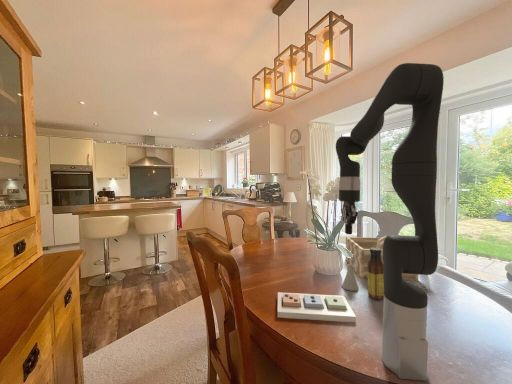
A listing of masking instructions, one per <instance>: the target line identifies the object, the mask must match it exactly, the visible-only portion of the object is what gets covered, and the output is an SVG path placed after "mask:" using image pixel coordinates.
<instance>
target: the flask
mask: <svg viewBox="0 0 512 384" xmlns="http://www.w3.org/2000/svg"><path fill="white" fill-rule="evenodd" d="M346 267H347V269H346V270H347V271H346V275H345V277H344V279H343V282H342V284H341V287H342V288H343V290H347V291H351V292H358V291H359V284H358V282H357V279H356V276H355V270H354V267H355V266H354V265H350V264H346Z"/></svg>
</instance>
